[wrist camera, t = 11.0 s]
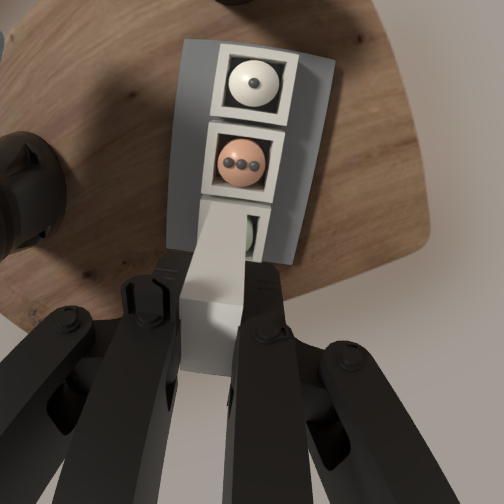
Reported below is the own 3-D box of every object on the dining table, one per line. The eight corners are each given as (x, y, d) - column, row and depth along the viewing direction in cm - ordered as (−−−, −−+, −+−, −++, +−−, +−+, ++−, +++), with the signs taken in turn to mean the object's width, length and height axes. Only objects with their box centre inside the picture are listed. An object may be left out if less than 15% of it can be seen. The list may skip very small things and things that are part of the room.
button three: (218, 174, 28) (214, 183, 26) (224, 133, 27) (220, 138, 24) (260, 180, 29) (261, 190, 26) (267, 139, 27) (269, 145, 24)
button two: (211, 239, 32) (207, 254, 29) (215, 203, 30) (211, 215, 27) (249, 244, 32) (249, 260, 29) (255, 209, 30) (255, 222, 27)
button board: (169, 241, 34) (158, 262, 30) (187, 41, 24) (176, 32, 20) (290, 258, 35) (295, 280, 31) (331, 61, 24) (344, 57, 21)
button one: (228, 102, 25) (225, 103, 22) (234, 61, 23) (232, 57, 20) (272, 108, 25) (274, 110, 23) (279, 67, 23) (282, 64, 21)
